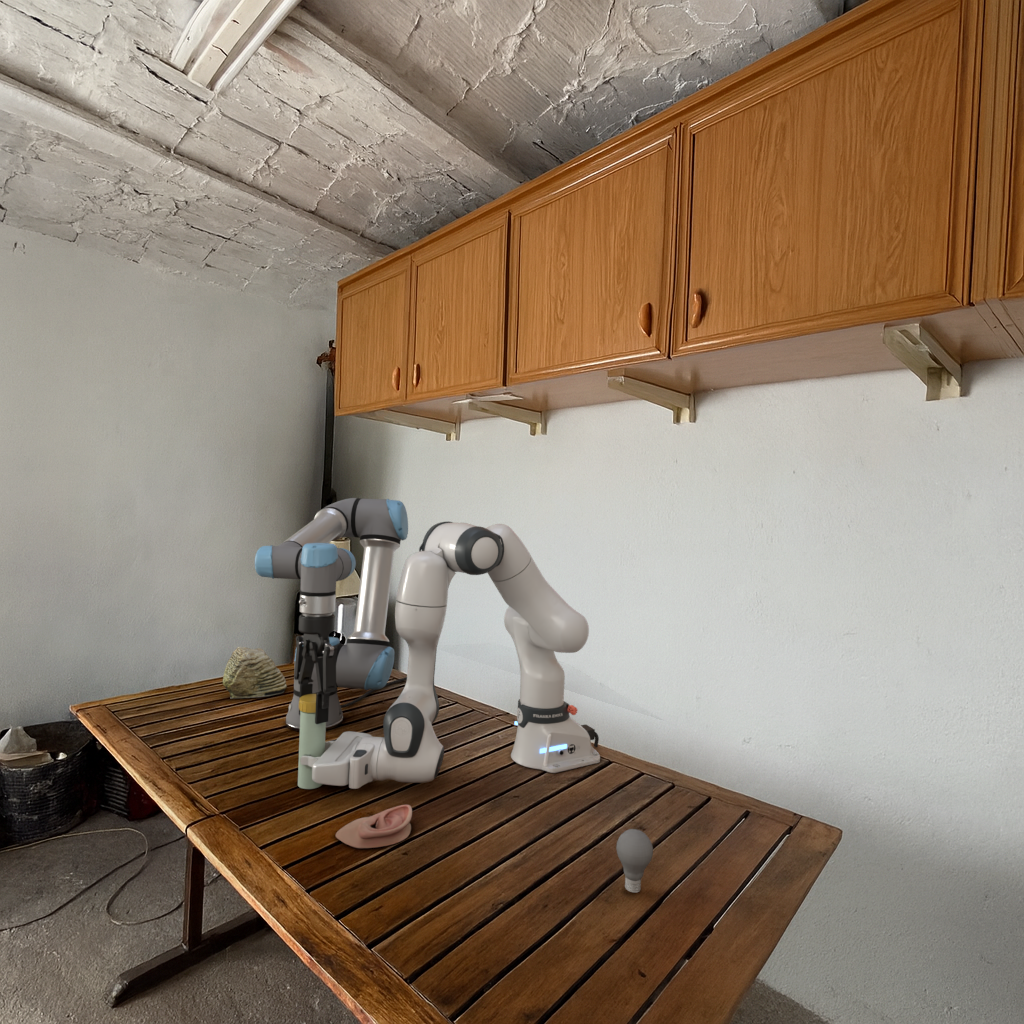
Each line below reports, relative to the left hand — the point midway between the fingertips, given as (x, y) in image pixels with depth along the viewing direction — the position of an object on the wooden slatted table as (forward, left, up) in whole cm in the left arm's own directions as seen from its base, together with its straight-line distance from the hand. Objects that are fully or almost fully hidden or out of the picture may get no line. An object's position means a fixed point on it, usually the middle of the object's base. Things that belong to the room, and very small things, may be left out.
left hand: (313, 717), depth 139 cm
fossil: (-23, -65, -15) cm, 70 cm away
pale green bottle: (0, 0, -15) cm, 15 cm away
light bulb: (-14, +72, -15) cm, 74 cm away
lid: (0, 0, +4) cm, 4 cm away
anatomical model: (+4, +27, -15) cm, 31 cm away
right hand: (0, -1, -8) cm, 8 cm away
